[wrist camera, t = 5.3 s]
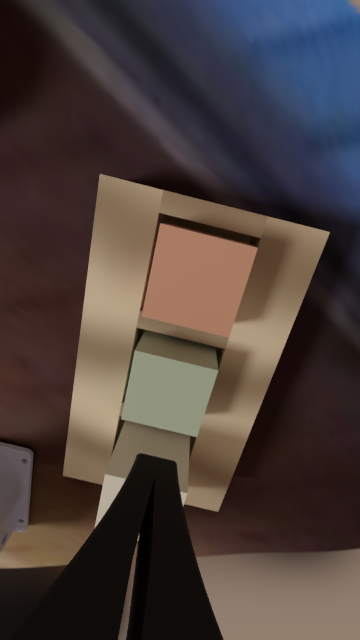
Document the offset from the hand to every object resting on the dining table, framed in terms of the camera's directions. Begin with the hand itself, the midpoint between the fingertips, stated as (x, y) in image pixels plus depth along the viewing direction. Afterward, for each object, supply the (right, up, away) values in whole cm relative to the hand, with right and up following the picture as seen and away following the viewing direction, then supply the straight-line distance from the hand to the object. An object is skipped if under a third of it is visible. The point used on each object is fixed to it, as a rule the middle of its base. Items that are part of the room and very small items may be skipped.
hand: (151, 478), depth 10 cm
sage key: (+1, +3, +8) cm, 9 cm away
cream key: (-1, -3, +9) cm, 9 cm away
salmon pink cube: (+2, +8, +6) cm, 11 cm away
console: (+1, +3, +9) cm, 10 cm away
